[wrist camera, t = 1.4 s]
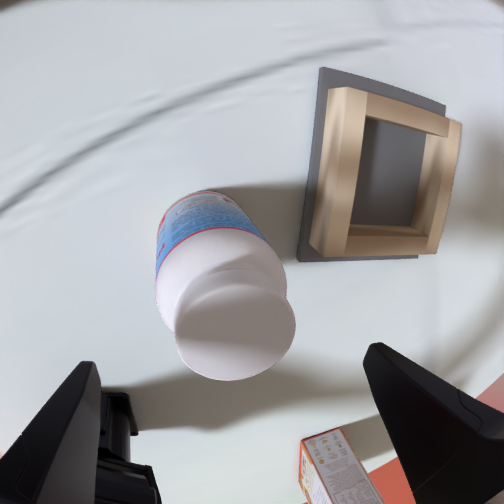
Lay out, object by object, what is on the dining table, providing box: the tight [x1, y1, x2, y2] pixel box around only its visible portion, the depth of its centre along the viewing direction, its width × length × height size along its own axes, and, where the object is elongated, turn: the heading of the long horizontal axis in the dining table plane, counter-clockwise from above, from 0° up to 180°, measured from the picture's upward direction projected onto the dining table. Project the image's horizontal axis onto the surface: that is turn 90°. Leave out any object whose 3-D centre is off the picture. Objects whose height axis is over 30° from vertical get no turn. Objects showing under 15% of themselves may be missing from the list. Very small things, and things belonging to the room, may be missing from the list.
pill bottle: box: [156, 191, 296, 381], centre depth 17 cm, size 6×6×11 cm
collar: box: [309, 87, 461, 257], centre depth 21 cm, size 11×11×2 cm
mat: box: [297, 67, 445, 262], centre depth 23 cm, size 14×12×1 cm
